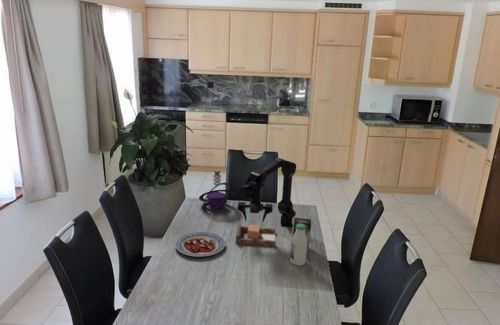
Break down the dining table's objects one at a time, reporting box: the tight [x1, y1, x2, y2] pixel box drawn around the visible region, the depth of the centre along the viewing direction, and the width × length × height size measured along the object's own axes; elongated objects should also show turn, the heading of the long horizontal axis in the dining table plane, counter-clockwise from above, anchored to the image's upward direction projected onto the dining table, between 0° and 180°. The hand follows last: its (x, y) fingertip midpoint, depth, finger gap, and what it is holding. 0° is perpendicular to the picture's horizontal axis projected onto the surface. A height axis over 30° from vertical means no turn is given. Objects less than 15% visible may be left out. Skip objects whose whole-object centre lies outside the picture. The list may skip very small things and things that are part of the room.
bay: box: [235, 222, 276, 247], centre depth 211 cm, size 21×16×4 cm
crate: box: [247, 224, 261, 240], centre depth 210 cm, size 6×8×6 cm
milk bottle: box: [289, 223, 307, 267], centre depth 186 cm, size 8×8×20 cm
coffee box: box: [290, 216, 312, 253], centre depth 200 cm, size 9×6×16 cm
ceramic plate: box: [174, 231, 226, 258], centre depth 199 cm, size 26×26×3 cm
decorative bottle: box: [198, 169, 235, 212], centre depth 245 cm, size 22×21×25 cm
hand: (254, 221), depth 209 cm, fingers open, 9 cm apart
